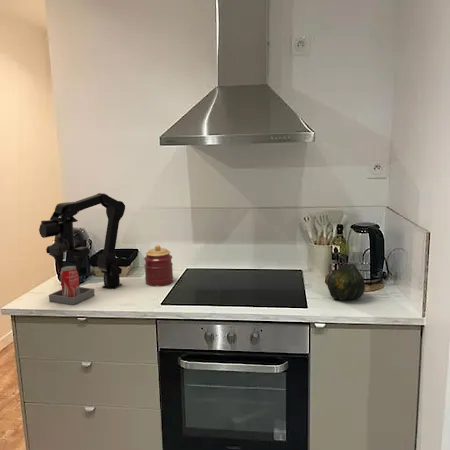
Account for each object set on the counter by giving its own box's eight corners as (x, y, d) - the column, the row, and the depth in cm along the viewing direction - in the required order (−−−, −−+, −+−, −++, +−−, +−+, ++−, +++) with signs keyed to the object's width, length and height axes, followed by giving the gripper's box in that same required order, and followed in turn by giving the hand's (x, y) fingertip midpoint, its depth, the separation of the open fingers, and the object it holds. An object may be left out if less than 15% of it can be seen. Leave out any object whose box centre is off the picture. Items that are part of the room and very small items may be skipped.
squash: (314, 284, 195) (337, 261, 186) (334, 277, 205) (356, 255, 197) (336, 312, 189) (360, 290, 180) (355, 304, 199) (379, 282, 191)
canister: (161, 288, 213) (159, 249, 209) (139, 284, 219) (137, 246, 216) (179, 280, 223) (177, 243, 220) (157, 276, 230) (155, 241, 227)
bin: (94, 295, 205) (94, 288, 204) (73, 305, 193) (73, 298, 193) (71, 292, 210) (70, 285, 210) (49, 301, 199) (48, 294, 198)
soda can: (82, 294, 205) (80, 265, 203) (76, 300, 198) (73, 270, 196) (67, 294, 206) (64, 265, 203) (59, 300, 199) (57, 270, 196)
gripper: (34, 236, 193) (38, 273, 196) (70, 239, 186) (73, 277, 188) (54, 231, 203) (57, 266, 206) (89, 233, 196) (92, 270, 198)
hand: (69, 270), depth 199 cm, fingers open, 9 cm apart
